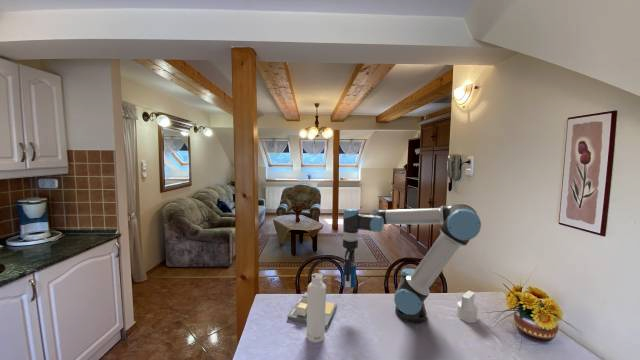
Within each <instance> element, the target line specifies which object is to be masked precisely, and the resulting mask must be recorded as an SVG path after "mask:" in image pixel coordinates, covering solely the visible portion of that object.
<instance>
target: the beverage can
mask: <svg viewBox="0 0 640 360" xmlns="http://www.w3.org/2000/svg"><path fill="white" fill-rule="evenodd" d="M342 266H343V267H342V285H343V287H344V288H346V289H350V290H351V289H353V288H355V287H356V282H357V266H356V262H355V261H354V262H351V287H345V275H344V272H345V261H344V263H343V264H342Z"/></svg>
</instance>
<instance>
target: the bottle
mask: <svg viewBox="0 0 640 360" xmlns="http://www.w3.org/2000/svg"><path fill="white" fill-rule="evenodd" d="M313 276H315V277H313ZM323 278H324V275H323V274H322V273H319V272H316V273H312V274H311V282H310V283H309V284H308V285H307V292H308V294H307V324H306V334H305V335H306V339H307V340H308V341H309V342H311V343H321V342H323V340H325V335H326V333H325V332H326V331H325V330H326V329H325V307H326V302H327V285H326V283H324V282H323V281H324V280H323Z"/></svg>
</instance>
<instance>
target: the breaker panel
mask: <svg viewBox="0 0 640 360" xmlns="http://www.w3.org/2000/svg"><path fill="white" fill-rule="evenodd" d="M300 302H301V303H303V296H301V297H300V298H299V300H298V301H297V302H296V304H295V305H294V306H293V307H292V310H290V312H289V313H288V315H287V321H291V322H294V323H298V324H303V325H307V314H306V316H301V315H297V307H298V305H299V304H300ZM337 307H338V304H336V303H335V302H334V303H333V302H329V301H326V307H325V330H328V328H329V326H330V324H331V321H332V320H333V317H334V314H335V313H336V310H337Z"/></svg>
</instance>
